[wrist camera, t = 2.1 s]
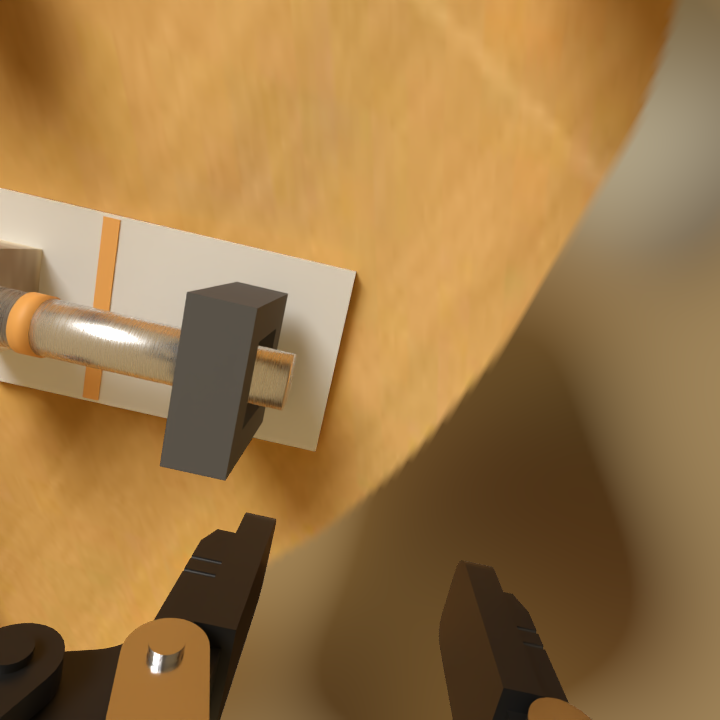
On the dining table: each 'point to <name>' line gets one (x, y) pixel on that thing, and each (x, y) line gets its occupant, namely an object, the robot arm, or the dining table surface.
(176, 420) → the collar
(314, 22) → the dining table surface
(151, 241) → the pipe rig
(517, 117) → the dining table surface
